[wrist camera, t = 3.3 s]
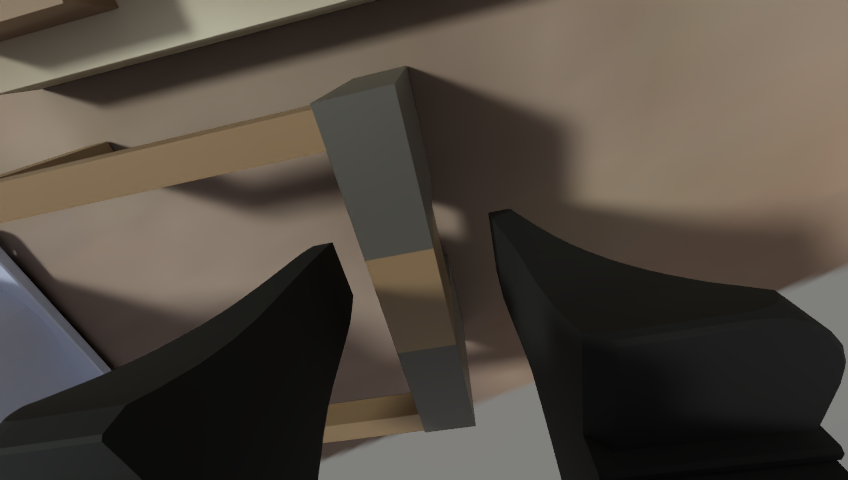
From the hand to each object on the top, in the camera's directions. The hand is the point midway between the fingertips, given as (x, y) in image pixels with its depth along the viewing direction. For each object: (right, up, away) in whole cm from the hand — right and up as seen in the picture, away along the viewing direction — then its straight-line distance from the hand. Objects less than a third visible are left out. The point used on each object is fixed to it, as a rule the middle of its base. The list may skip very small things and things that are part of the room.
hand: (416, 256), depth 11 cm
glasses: (-4, 0, +2) cm, 5 cm away
